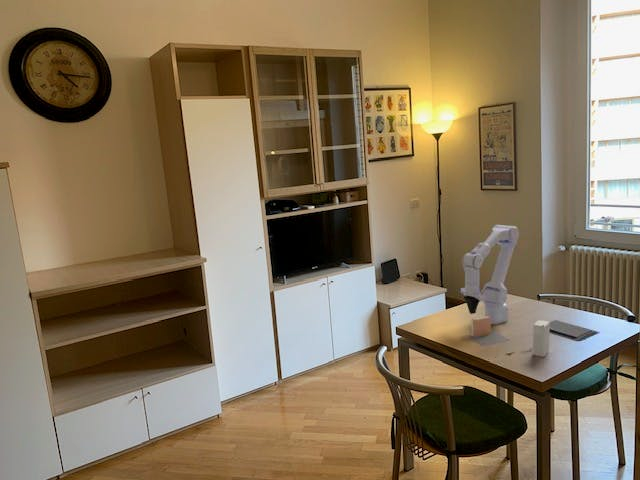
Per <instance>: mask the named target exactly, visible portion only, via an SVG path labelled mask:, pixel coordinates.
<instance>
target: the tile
mask: <svg viewBox="0 0 640 480" xmlns="http://www.w3.org/2000/svg"><path fill="white" fill-rule="evenodd" d="M470 321H471V323H470V324H471V334H472V336H473V337H477V336H482V335H487V334H491V330H492V324H491V317H489V316H487V317H485V316H483V317H477V318H471V319H470Z"/></svg>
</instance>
